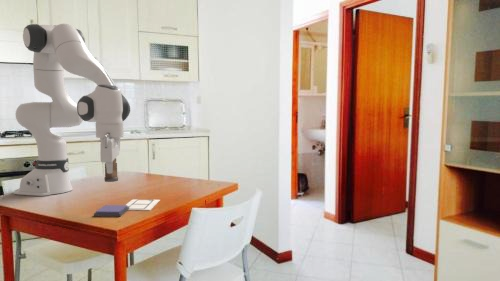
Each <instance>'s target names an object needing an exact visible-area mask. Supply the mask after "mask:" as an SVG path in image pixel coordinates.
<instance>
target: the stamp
mask: <svg viewBox="0 0 500 281" xmlns="http://www.w3.org/2000/svg"><path fill="white" fill-rule="evenodd" d="M103 180H104V182H106V183H111V182H112V183H114V182H115V183H116V182H118V181H119V176H118V163H117V157H116V158H115V159H114V160H113V172H112V173H110V174H108V173H107V168H106V162H105V163H104V179H103Z"/></svg>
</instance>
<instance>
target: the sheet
mask: <svg viewBox="0 0 500 281" xmlns="http://www.w3.org/2000/svg"><path fill="white" fill-rule="evenodd" d="M160 201H161V199H141V198H140V199H136V198H135V199H131V200H130V201H129V202H127V203H126V204H125V205H127V206H129V209H128V211H151V210H152V209H153V208H154V207H155V206H156V205H157V204H158V203H159V202H160Z"/></svg>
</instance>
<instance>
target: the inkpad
mask: <svg viewBox="0 0 500 281" xmlns="http://www.w3.org/2000/svg"><path fill="white" fill-rule="evenodd" d="M128 209H129V206H127V205H126V204H125V205H124V204H105V205H103V206H101V208H99V209H97V210H96V211H95V212H94V213H93V217H98V218H99V217H103V218H104V217H108V218H109V217H116V218H117V217H118V218H119V217H122V216H124V214H125V213H127V211H129V210H128Z"/></svg>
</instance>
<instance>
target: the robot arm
mask: <svg viewBox="0 0 500 281" xmlns="http://www.w3.org/2000/svg"><path fill="white" fill-rule="evenodd" d="M22 32H23V33H22V40H23V43H24V44H23V45H24V46H25V47H26V48H27V50H28V51H31V52H33V60H32V62H33V64H32V66H33V70H32V71H33V83H34V87H35V89H36V90H37V91H38V92H40V93H42V94H44V95H46V96H48V97H50V98H51V99H52V101H51V102H49V101H48V102H46V101H39V102H38V101H32V102H26V103H21V104H19V105H18V106H17V108H16V111H15V120H16V121H17V123H18V124H19V125H20V126H22V128H25V129H26V130H27V131H28V132H29V133H30V134H31V135H32V136H33V138H34V140H35V142H36V148H37V154H38V155H37V157H38V159H37V160H35V161H33V162H32V165H31V166H34V168H33V169H32V170H31V171H29V172H28V173H27V174H26V175H24V176H23V177H22V178H21V179H20V183H19V188H17V189H14V191H13V195H22V196H24V195H25V196H38V197H39V196H40V197H44V196H45V197H46V196H49V195H50V196H51V195H56V194H63V193H64V194H65V193H68V192H70V191H72V190H73V186H72V183H71V181H70V179H71V178H70V175H69V171H70V170H69V169H70V168H69V158H68V149H67V148H68V145H67V144H68V143H67V141H66V139H64V138H63V137H61V136H59V135H56V134H54V133H52V132H51V130H50V129H52V128H72V127H73V128H74V127H77V126H80V125H81V124H82V123H83V121H84V122H88V123H95V138H97V139H98V138H99V141H100V162H101V163H103V164H105V163H106V168H107V173H108V174H110V173H112V172H113V160H114V159H115V158H116V159H117V157H118V156H119V154H120V149H121V148H120V147H121V138H124V121H126V120H127V118H128V117H129V116H130V113H131V106H130V103H129V101H128V99H127V98H126V97H125V96H124V95H123V93H122V92H121V89H120V87H118V86H117V85H116V83H115V82H114V80H113V78H112V77H111V76H110V74H109V72H108V71H107V69H106V67H104V65H103V64H101V63H100V62H99V60H97V59H96V58H95V57H94V56H93V55H92V54H91V52H90V51H89V49H88V48H87V45H86V38H85V35H84V33H82V30H80V29H79V28H78V29H77V28H76V27H74V26H73V25H71V24H68V23H59V24H54V25H52V24H38V23H34V24H33V23H32V24H27V25H26V26H25V27H24V29H23V31H22ZM64 70H65V71H66V72H68V73H70V74H73V75H75V76H79V77H82V78H84V79H88V80H90V81H92V82H93V83H94V84H95V85H96V86H95V89H94V90H93V91H92V92H91V93H89V94H86V95H83V96H81V98H79V100H78V101H77V102H75V101H74V100H73V99H72V98H71V97H70V95H69V93H68V91H67V88H66V85H65V84H66V83H65V77H64V76H65V74H64Z"/></svg>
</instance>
